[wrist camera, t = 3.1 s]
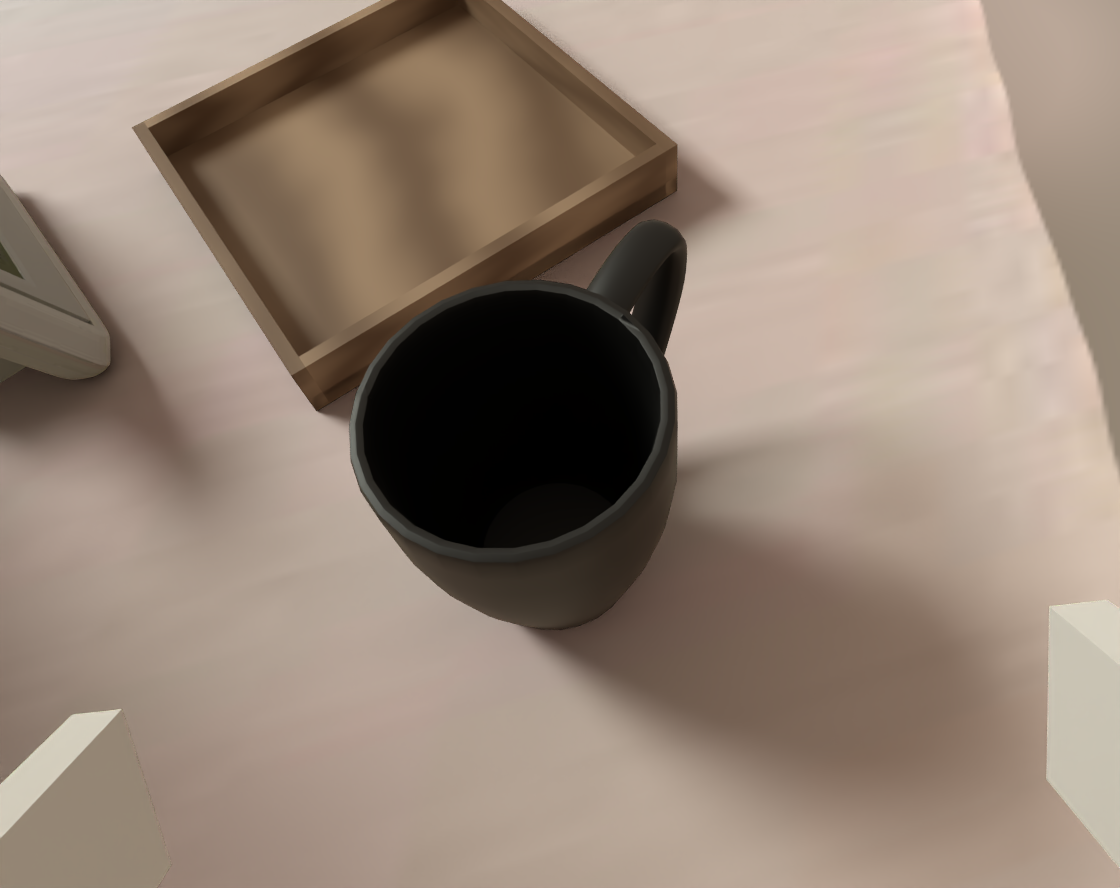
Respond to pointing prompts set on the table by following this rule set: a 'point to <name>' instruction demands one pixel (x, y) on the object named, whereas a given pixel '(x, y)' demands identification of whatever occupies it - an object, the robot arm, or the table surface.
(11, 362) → the digital clock
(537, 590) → the mug
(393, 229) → the walnut tray
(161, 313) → the table surface
